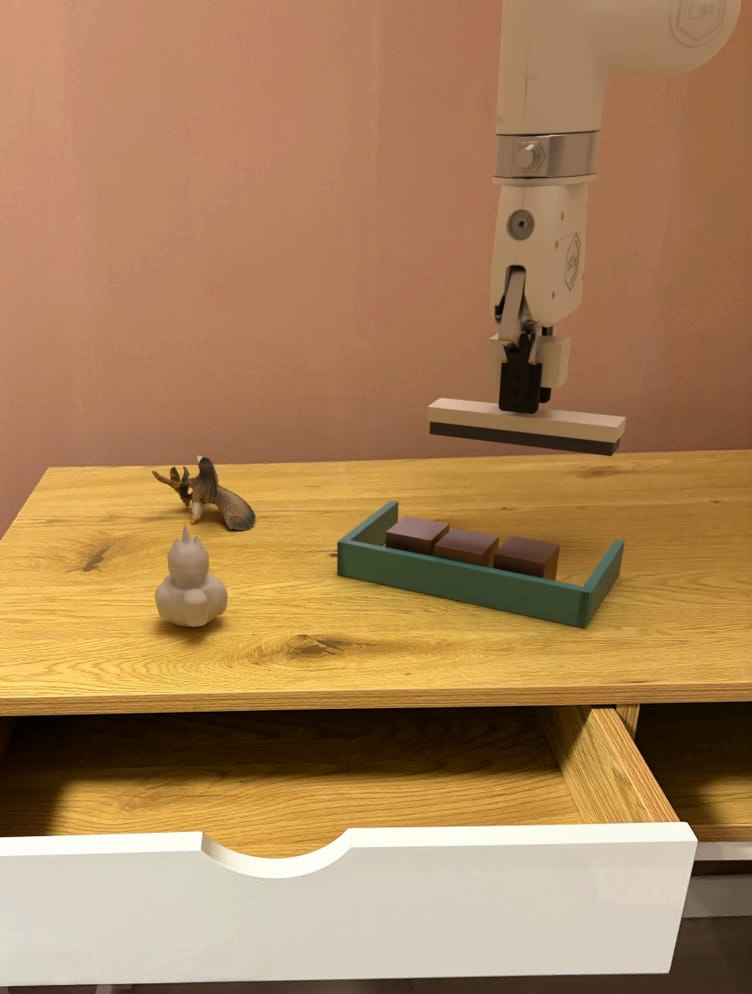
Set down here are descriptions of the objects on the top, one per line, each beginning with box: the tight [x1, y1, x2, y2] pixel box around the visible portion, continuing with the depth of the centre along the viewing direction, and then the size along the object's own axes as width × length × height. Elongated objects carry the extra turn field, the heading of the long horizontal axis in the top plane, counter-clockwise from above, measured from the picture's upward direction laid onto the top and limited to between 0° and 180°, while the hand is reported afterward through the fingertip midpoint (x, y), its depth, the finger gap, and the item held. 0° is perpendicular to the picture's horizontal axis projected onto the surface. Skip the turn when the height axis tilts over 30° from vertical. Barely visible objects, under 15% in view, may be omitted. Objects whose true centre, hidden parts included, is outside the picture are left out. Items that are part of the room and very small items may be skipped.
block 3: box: [493, 535, 561, 581], centre depth 77 cm, size 4×4×4 cm
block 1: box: [384, 515, 451, 557], centre depth 81 cm, size 4×4×4 cm
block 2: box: [434, 527, 500, 568], centre depth 79 cm, size 4×4×4 cm
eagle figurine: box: [151, 454, 257, 531], centre depth 93 cm, size 8×7×9 cm
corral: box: [336, 500, 626, 629], centre depth 81 cm, size 21×11×3 cm, turn 60°
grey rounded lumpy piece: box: [154, 523, 229, 628], centre depth 73 cm, size 5×7×8 cm
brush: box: [426, 332, 627, 457], centre depth 80 cm, size 16×3×8 cm, turn 60°
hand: (524, 404), depth 81 cm, fingers closed on brush, 2 cm apart
